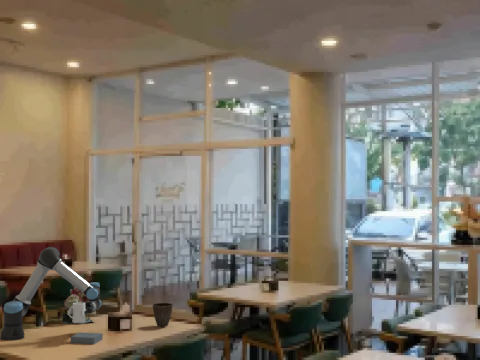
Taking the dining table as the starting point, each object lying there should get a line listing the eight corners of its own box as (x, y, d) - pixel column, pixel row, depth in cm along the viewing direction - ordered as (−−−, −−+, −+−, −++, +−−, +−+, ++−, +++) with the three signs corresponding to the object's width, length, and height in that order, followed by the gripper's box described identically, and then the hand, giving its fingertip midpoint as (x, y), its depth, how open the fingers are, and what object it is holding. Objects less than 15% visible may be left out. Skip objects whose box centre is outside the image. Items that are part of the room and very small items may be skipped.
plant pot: (165, 329, 423) (165, 306, 424) (148, 327, 430) (148, 305, 431) (176, 325, 437) (176, 303, 438) (159, 323, 443) (159, 302, 444)
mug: (70, 324, 377) (70, 305, 378) (65, 322, 384) (65, 303, 384) (87, 321, 385) (87, 303, 385) (82, 319, 391) (82, 301, 392)
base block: (70, 343, 376) (70, 336, 376) (79, 338, 390) (79, 332, 390) (94, 344, 374) (94, 337, 374) (102, 339, 388) (102, 333, 388)
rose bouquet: (62, 325, 432) (63, 285, 433) (62, 318, 460) (63, 280, 461) (97, 324, 439) (98, 284, 440) (96, 317, 467) (97, 279, 468)
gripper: (103, 313, 401) (90, 319, 378) (73, 312, 404) (59, 318, 381) (103, 302, 401) (90, 307, 379) (73, 301, 404) (59, 306, 382)
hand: (75, 313), depth 380 cm, fingers closed on mug, 9 cm apart
